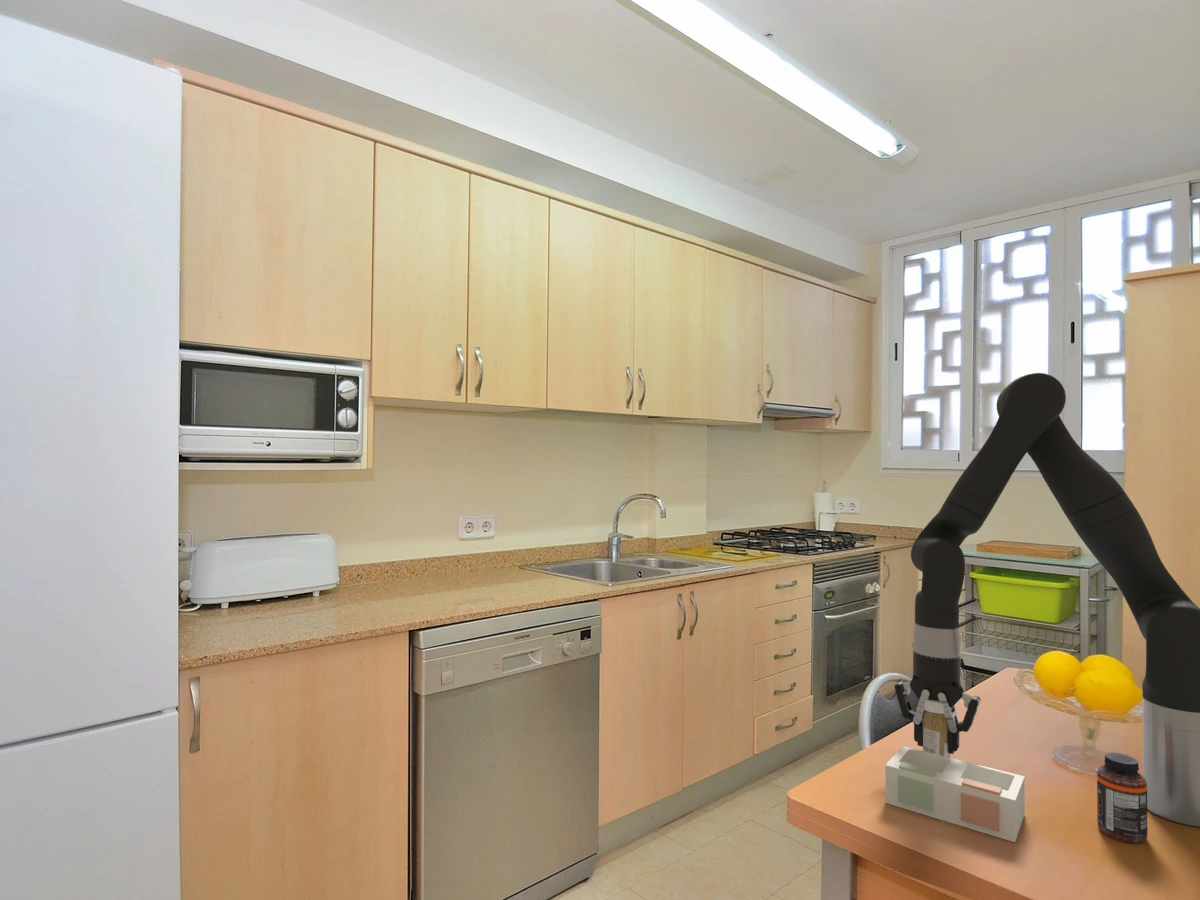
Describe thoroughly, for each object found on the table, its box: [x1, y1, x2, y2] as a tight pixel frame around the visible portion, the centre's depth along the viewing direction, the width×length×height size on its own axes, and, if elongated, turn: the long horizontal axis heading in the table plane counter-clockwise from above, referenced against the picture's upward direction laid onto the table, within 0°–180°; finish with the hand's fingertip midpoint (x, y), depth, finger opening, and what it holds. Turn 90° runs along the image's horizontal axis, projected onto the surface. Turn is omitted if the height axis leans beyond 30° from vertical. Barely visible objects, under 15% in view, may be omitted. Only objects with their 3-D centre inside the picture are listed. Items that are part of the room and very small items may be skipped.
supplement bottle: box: [1096, 751, 1148, 844], centre depth 102 cm, size 6×6×11 cm
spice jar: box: [922, 699, 951, 758], centre depth 120 cm, size 5×5×13 cm
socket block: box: [884, 745, 1026, 843], centre depth 108 cm, size 18×10×6 cm, turn 52°
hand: (936, 748), depth 120 cm, fingers closed on spice jar, 4 cm apart
